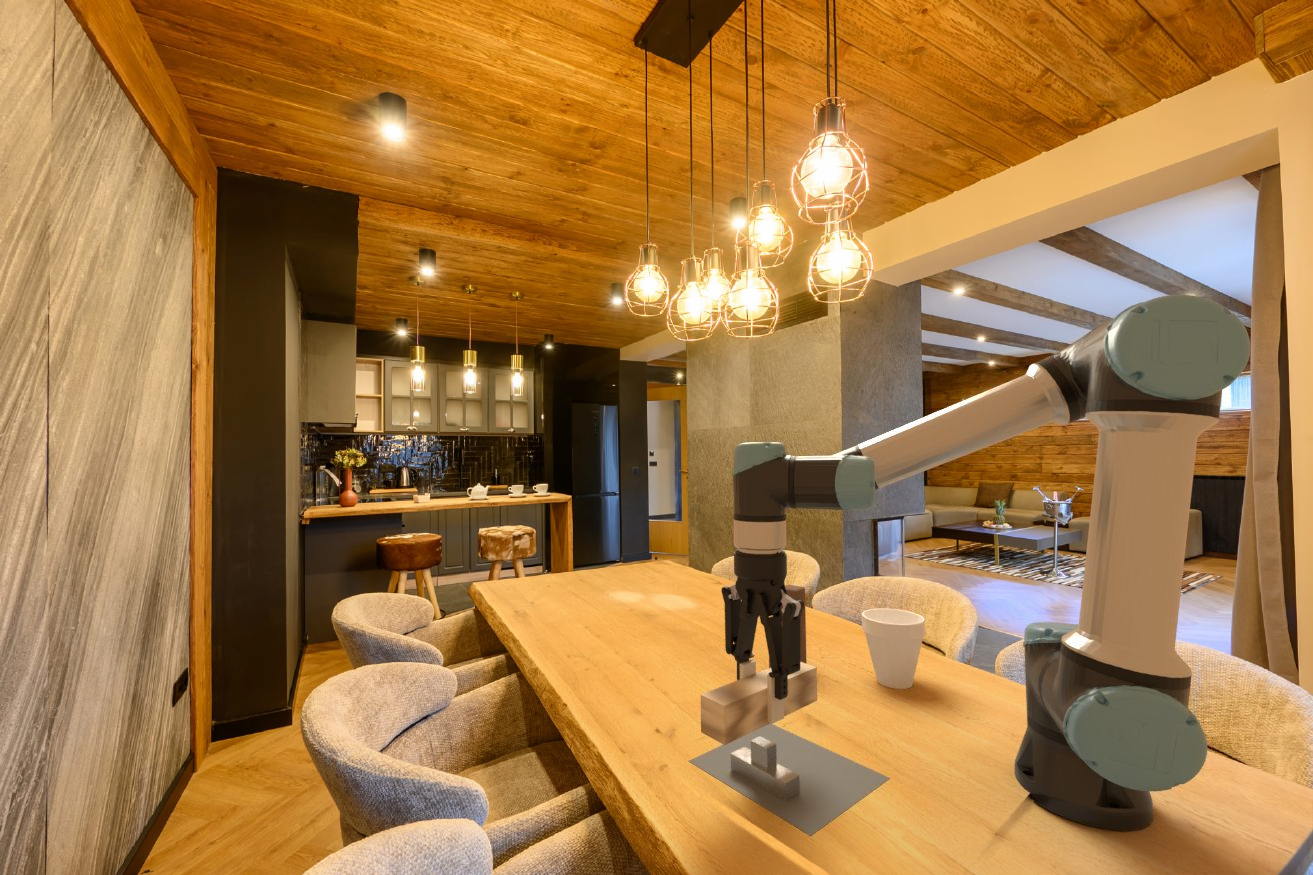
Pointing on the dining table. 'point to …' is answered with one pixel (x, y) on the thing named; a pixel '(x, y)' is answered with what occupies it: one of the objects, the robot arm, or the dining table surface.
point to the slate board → (822, 778)
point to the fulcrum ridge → (765, 769)
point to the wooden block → (799, 594)
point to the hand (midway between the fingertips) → (761, 713)
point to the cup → (894, 644)
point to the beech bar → (752, 703)
